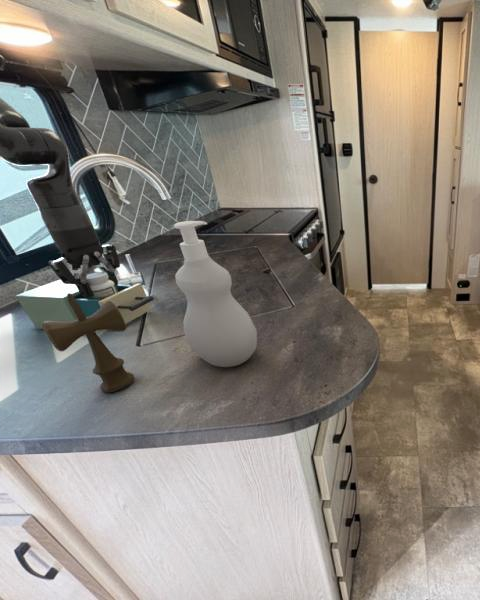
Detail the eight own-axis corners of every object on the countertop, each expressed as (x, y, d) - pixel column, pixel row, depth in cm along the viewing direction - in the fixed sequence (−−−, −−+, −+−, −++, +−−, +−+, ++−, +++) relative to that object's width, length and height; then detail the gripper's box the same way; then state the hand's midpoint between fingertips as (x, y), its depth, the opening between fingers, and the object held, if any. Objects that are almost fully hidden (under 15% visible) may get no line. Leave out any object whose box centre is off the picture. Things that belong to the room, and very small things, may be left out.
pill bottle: (102, 307, 84) (85, 272, 80) (128, 303, 86) (113, 269, 81) (92, 317, 79) (74, 281, 75) (120, 312, 81) (103, 277, 77)
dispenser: (124, 309, 90) (110, 278, 86) (81, 331, 79) (62, 297, 75) (84, 306, 92) (67, 276, 87) (36, 328, 81) (15, 295, 77)
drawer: (167, 309, 87) (156, 284, 84) (132, 330, 78) (119, 302, 74) (113, 306, 89) (100, 281, 86) (73, 326, 80) (57, 299, 76)
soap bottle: (276, 352, 70) (245, 220, 57) (231, 384, 61) (180, 236, 48) (227, 334, 77) (188, 213, 64) (179, 360, 68) (123, 225, 55)
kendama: (153, 377, 63) (110, 287, 54) (91, 407, 56) (29, 309, 47) (143, 366, 66) (100, 279, 57) (83, 392, 60) (24, 299, 50)
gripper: (48, 234, 66) (86, 305, 73) (113, 219, 78) (139, 280, 86) (18, 233, 67) (58, 303, 74) (87, 218, 79) (115, 279, 87)
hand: (102, 291), depth 80 cm, fingers closed on pill bottle, 5 cm apart
